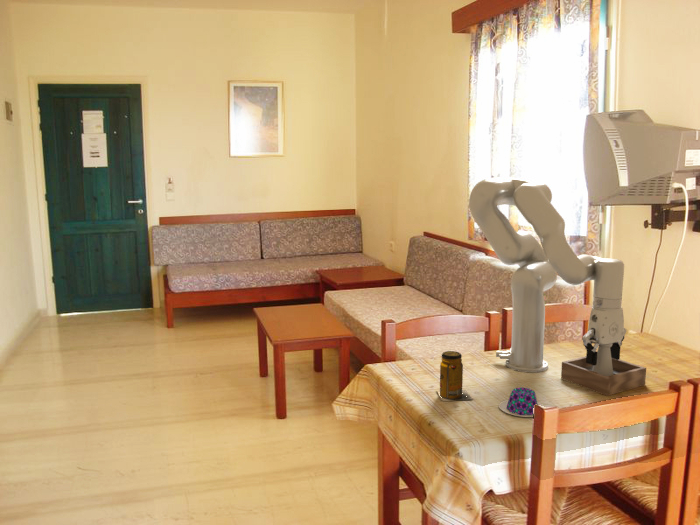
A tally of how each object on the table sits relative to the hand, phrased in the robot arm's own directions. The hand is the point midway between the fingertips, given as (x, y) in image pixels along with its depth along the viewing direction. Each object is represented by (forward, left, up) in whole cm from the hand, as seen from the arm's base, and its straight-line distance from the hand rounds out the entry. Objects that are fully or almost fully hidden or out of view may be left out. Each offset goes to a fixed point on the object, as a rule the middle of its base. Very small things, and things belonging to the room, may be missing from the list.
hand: (602, 361), depth 191 cm
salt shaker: (0, 0, -6) cm, 6 cm away
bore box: (0, 0, -6) cm, 6 cm away
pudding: (-22, -26, -7) cm, 35 cm away
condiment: (-40, -21, -6) cm, 45 cm away
